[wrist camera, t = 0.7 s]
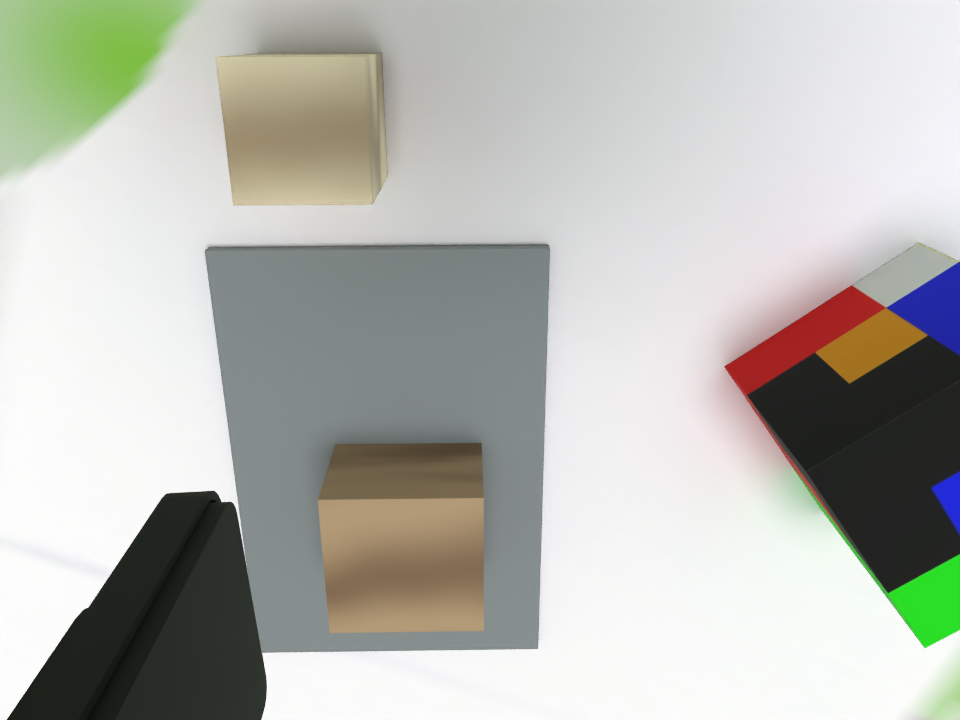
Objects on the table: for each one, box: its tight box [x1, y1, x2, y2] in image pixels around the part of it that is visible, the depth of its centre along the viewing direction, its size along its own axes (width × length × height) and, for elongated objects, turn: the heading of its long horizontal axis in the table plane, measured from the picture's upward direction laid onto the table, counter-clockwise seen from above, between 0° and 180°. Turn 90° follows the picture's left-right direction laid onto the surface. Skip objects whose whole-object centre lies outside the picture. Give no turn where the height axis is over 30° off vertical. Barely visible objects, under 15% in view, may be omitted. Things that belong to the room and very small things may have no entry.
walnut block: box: [318, 443, 484, 633], centre depth 38 cm, size 7×7×5 cm
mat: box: [205, 245, 550, 653], centre depth 40 cm, size 22×15×1 cm
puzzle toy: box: [725, 243, 960, 648], centre depth 34 cm, size 10×10×10 cm
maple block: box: [216, 53, 387, 205], centre depth 31 cm, size 5×5×6 cm
